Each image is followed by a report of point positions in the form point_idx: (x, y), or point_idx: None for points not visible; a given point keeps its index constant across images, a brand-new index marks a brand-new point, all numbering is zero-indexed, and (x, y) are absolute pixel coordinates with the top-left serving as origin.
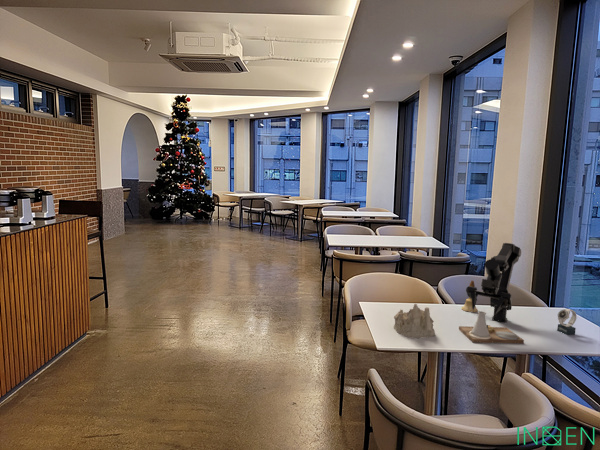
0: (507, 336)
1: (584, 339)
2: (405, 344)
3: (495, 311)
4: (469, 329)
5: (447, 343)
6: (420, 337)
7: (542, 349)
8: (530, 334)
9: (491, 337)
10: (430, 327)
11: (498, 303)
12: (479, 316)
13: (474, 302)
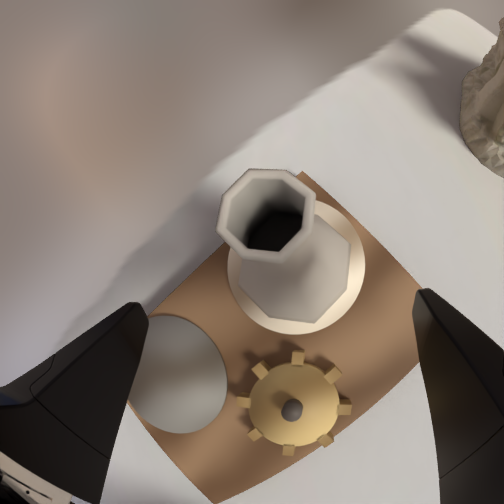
0: (160, 356)
1: None
2: (436, 27)
3: (120, 313)
4: (385, 319)
5: (375, 93)
6: (463, 81)
7: (62, 338)
8: (130, 491)
9: (227, 280)
10: (481, 97)
11: (40, 386)
12: (286, 195)
13: (458, 351)
